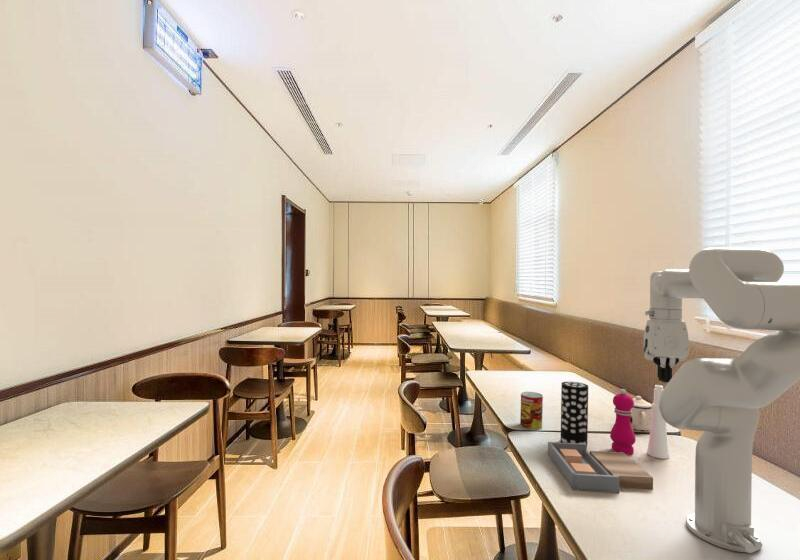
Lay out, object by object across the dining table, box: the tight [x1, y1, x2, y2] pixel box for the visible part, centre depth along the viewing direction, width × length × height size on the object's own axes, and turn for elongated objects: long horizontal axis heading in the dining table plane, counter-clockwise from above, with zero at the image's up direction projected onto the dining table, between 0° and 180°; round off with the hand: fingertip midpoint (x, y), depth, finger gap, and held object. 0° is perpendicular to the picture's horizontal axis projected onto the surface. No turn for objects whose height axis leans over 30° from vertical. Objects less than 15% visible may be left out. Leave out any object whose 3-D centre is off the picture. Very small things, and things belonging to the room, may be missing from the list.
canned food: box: [519, 391, 544, 431], centre depth 152 cm, size 8×8×12 cm
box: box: [547, 441, 620, 494], centre depth 115 cm, size 22×12×4 cm, turn 176°
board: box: [589, 450, 654, 490], centre depth 115 cm, size 16×10×3 cm, turn 176°
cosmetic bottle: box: [646, 384, 670, 460], centre depth 128 cm, size 6×6×22 cm
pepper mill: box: [609, 388, 637, 456], centre depth 131 cm, size 7×7×20 cm
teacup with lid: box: [630, 395, 652, 432], centre depth 153 cm, size 12×9×12 cm
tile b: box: [559, 449, 582, 464], centre depth 121 cm, size 5×5×2 cm
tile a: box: [570, 463, 595, 474], centre depth 111 cm, size 5×5×2 cm
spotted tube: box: [560, 381, 589, 445], centre depth 136 cm, size 8×8×20 cm
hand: (664, 381), depth 112 cm, fingers closed
